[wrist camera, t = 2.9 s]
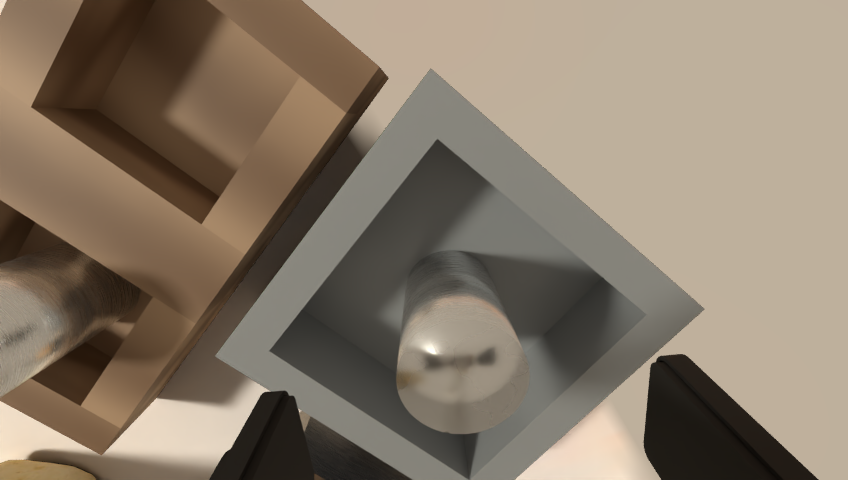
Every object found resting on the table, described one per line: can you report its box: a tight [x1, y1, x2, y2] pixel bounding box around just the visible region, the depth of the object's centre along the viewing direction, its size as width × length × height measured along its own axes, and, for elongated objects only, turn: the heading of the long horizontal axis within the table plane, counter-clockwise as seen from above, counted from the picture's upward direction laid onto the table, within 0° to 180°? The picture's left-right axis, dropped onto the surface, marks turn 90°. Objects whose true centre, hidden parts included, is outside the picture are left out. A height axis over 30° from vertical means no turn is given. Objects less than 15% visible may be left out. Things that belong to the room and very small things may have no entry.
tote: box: [215, 69, 704, 480], centre depth 18 cm, size 14×14×5 cm
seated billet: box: [0, 242, 141, 398], centre depth 16 cm, size 4×4×7 cm
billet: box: [396, 250, 530, 434], centre depth 16 cm, size 4×4×7 cm
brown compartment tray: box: [0, 0, 388, 455], centre depth 17 cm, size 22×11×4 cm, turn 141°
